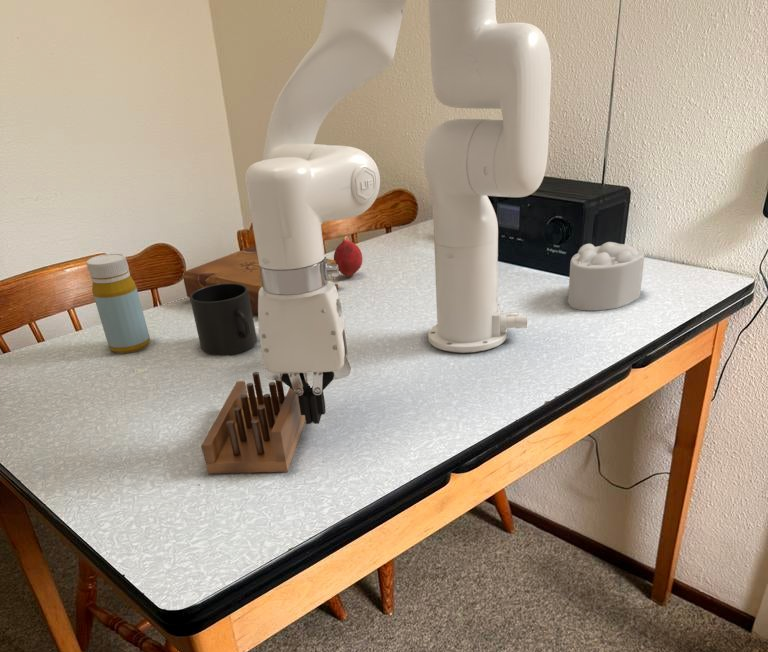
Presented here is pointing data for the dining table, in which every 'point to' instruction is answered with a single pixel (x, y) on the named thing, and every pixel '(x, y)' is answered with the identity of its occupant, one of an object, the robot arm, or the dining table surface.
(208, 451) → the rack
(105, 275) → the bottle
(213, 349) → the mug
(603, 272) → the lumpy-topped squat cylinder
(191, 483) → the dining table surface
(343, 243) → the onion
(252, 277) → the diary
